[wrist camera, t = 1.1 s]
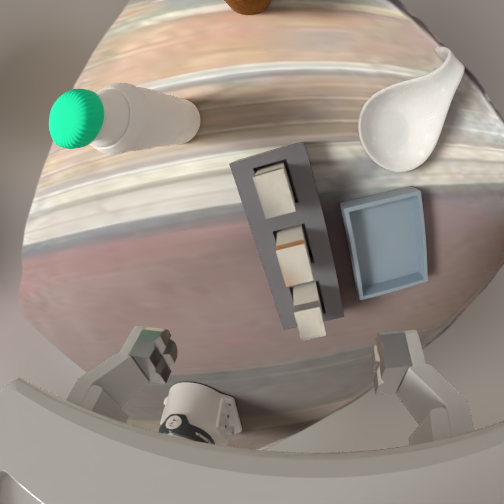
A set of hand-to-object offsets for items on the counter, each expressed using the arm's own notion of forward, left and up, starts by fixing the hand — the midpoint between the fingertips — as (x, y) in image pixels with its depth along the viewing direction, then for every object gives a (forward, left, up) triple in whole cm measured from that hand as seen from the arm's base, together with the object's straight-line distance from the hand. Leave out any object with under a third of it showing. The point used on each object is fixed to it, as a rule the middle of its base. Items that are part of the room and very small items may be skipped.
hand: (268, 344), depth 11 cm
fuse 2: (-17, 0, -32) cm, 36 cm away
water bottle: (+14, +11, -34) cm, 38 cm away
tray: (-12, -14, -33) cm, 38 cm away
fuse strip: (-8, 0, -33) cm, 34 cm away
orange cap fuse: (-8, 0, -32) cm, 33 cm away
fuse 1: (+1, 0, -32) cm, 32 cm away
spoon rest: (+8, -23, -34) cm, 42 cm away
